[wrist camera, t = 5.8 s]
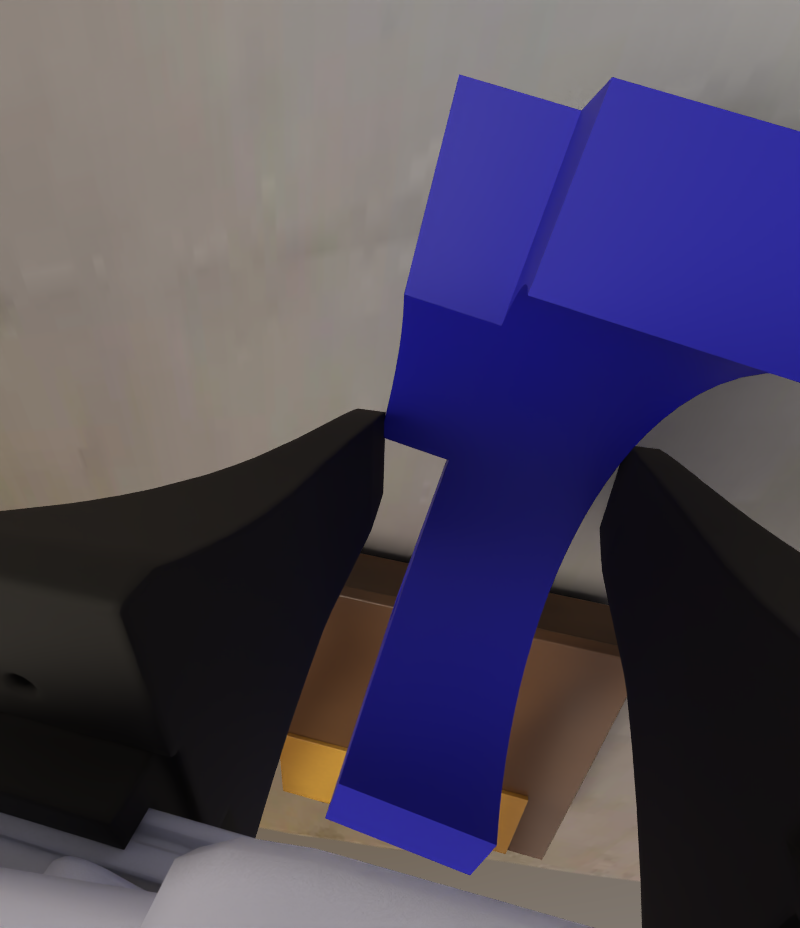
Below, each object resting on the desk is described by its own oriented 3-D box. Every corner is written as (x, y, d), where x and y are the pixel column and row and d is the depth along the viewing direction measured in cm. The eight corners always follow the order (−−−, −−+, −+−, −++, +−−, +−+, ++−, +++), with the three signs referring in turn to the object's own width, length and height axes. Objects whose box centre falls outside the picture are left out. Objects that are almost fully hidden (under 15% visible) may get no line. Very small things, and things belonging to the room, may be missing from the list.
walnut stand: (629, 593, 22) (646, 668, 19) (541, 791, 31) (542, 864, 28) (298, 525, 24) (263, 582, 21) (306, 729, 33) (283, 790, 30)
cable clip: (482, 98, 9) (402, 16, 4) (747, 177, 8) (1066, 208, 3) (348, 580, 15) (254, 790, 10) (493, 633, 15) (469, 875, 10)
